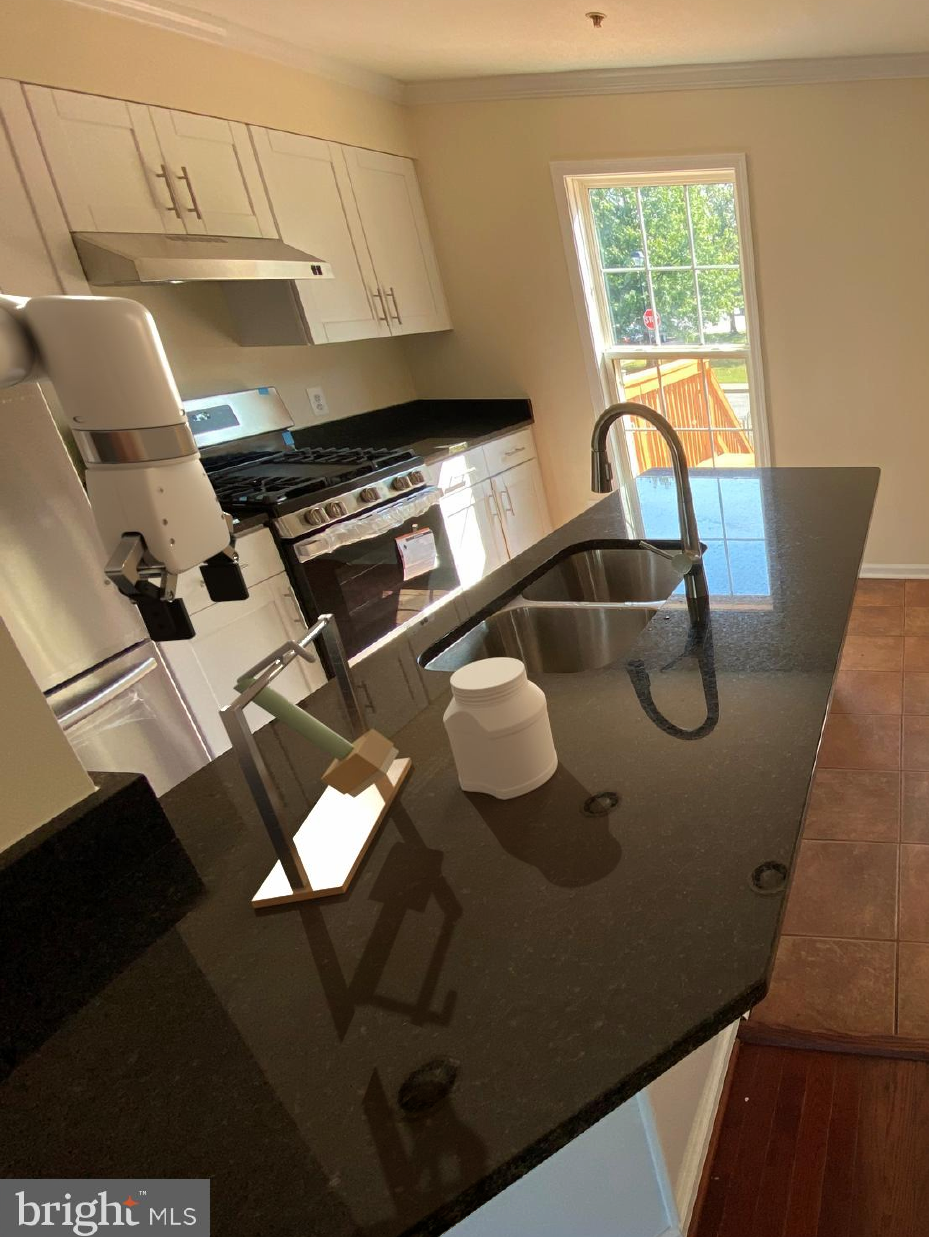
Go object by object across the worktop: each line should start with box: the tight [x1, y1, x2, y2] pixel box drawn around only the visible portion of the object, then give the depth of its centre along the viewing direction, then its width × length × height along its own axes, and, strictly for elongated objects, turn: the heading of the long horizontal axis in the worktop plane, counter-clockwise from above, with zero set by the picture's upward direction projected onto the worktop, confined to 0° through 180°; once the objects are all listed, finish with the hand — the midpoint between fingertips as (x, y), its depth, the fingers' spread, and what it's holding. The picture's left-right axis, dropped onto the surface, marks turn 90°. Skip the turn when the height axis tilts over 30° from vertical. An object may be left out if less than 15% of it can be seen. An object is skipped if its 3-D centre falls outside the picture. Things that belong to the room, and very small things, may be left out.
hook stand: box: [232, 639, 400, 798], centre depth 76 cm, size 9×5×17 cm
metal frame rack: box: [218, 613, 412, 909], centre depth 77 cm, size 8×23×22 cm, turn 15°
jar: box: [442, 656, 559, 801], centre depth 88 cm, size 12×10×15 cm
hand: (204, 618), depth 69 cm, fingers open, 9 cm apart
